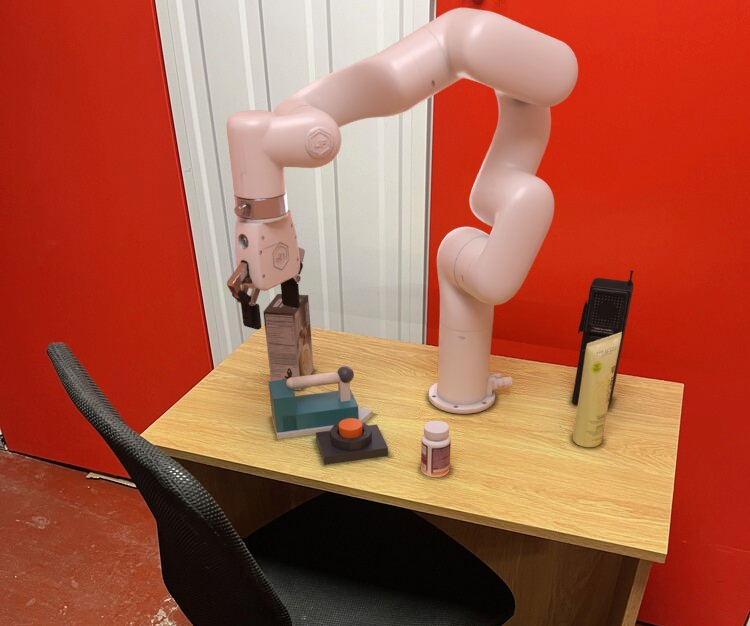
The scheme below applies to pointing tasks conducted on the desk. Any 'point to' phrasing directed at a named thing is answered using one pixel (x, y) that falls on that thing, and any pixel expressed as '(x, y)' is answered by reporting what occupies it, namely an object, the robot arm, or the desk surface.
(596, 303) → the portable radio
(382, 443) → the switch box
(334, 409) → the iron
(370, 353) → the desk surface
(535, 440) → the desk surface
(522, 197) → the robot arm
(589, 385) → the tube
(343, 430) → the power button
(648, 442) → the desk surface
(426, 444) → the pill bottle
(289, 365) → the coffee box
